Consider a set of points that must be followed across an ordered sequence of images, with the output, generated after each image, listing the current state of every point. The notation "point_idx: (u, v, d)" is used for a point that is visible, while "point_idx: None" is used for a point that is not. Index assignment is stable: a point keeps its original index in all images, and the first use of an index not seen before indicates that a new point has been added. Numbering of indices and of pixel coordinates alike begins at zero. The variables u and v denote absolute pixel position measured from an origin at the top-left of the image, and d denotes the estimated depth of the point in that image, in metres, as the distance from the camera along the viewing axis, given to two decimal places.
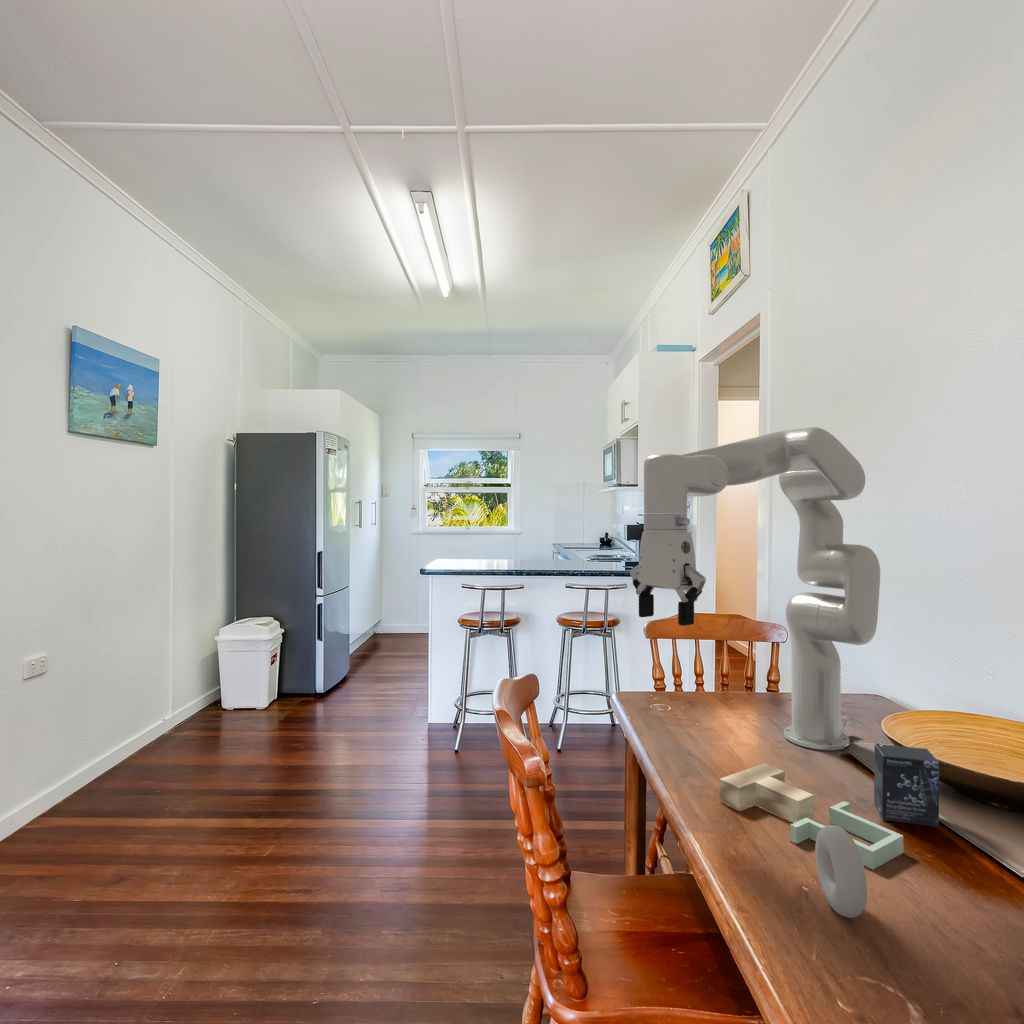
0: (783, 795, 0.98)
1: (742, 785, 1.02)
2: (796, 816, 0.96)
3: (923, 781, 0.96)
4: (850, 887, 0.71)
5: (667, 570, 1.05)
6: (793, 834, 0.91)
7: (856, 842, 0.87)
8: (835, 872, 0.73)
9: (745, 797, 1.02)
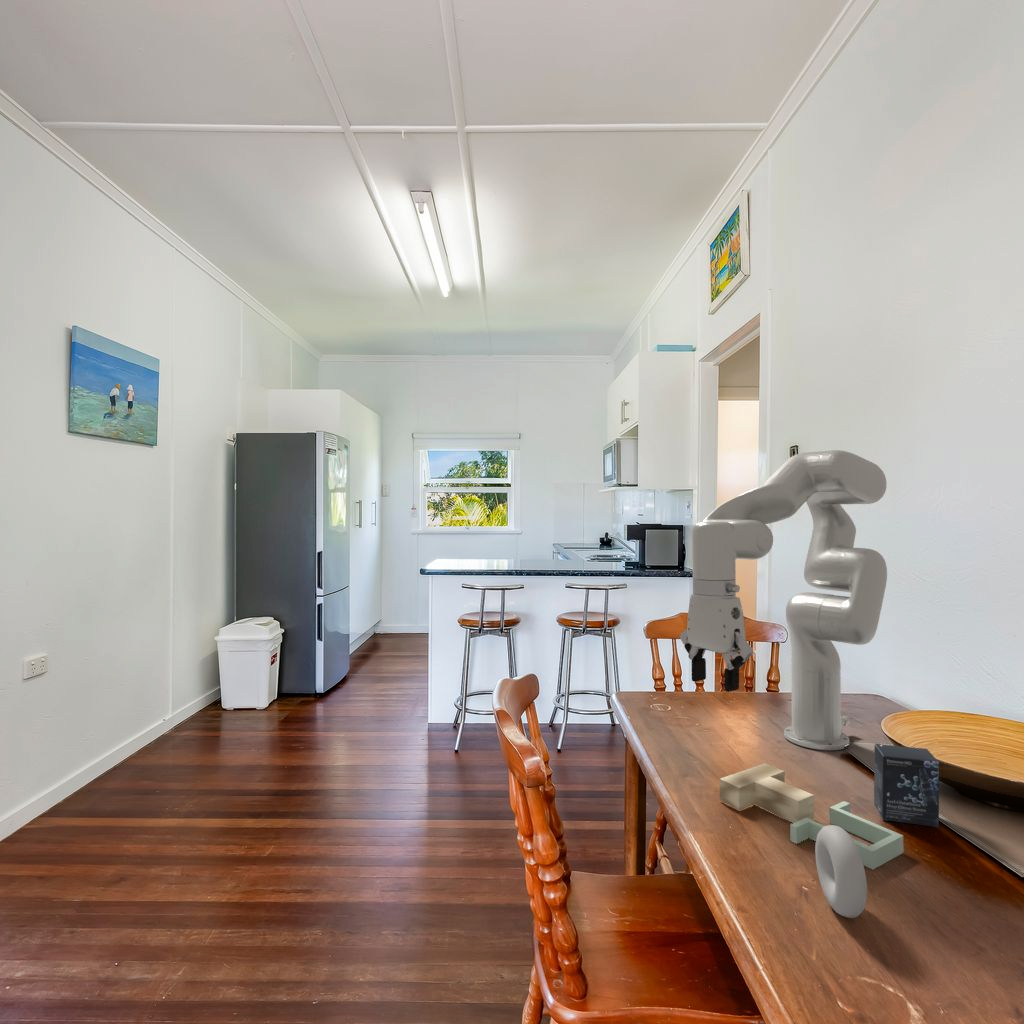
0: (783, 795, 0.98)
1: (742, 785, 1.02)
2: (796, 816, 0.96)
3: (923, 781, 0.96)
4: (850, 887, 0.71)
5: (717, 635, 1.09)
6: (793, 834, 0.91)
7: (856, 842, 0.87)
8: (835, 872, 0.73)
9: (745, 797, 1.02)
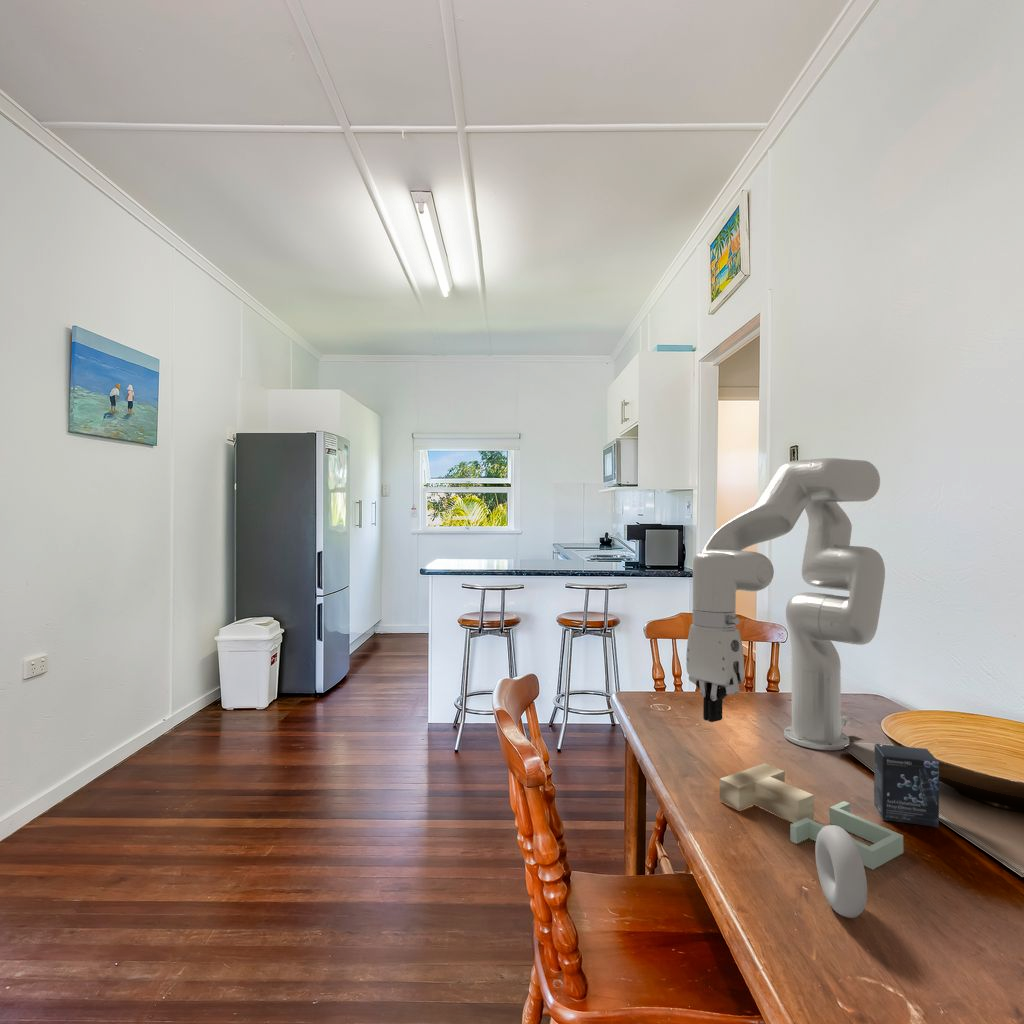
0: (783, 795, 0.98)
1: (742, 785, 1.02)
2: (796, 816, 0.96)
3: (923, 781, 0.96)
4: (850, 887, 0.71)
5: (716, 667, 1.09)
6: (793, 834, 0.91)
7: (856, 842, 0.87)
8: (835, 872, 0.73)
9: (745, 797, 1.02)
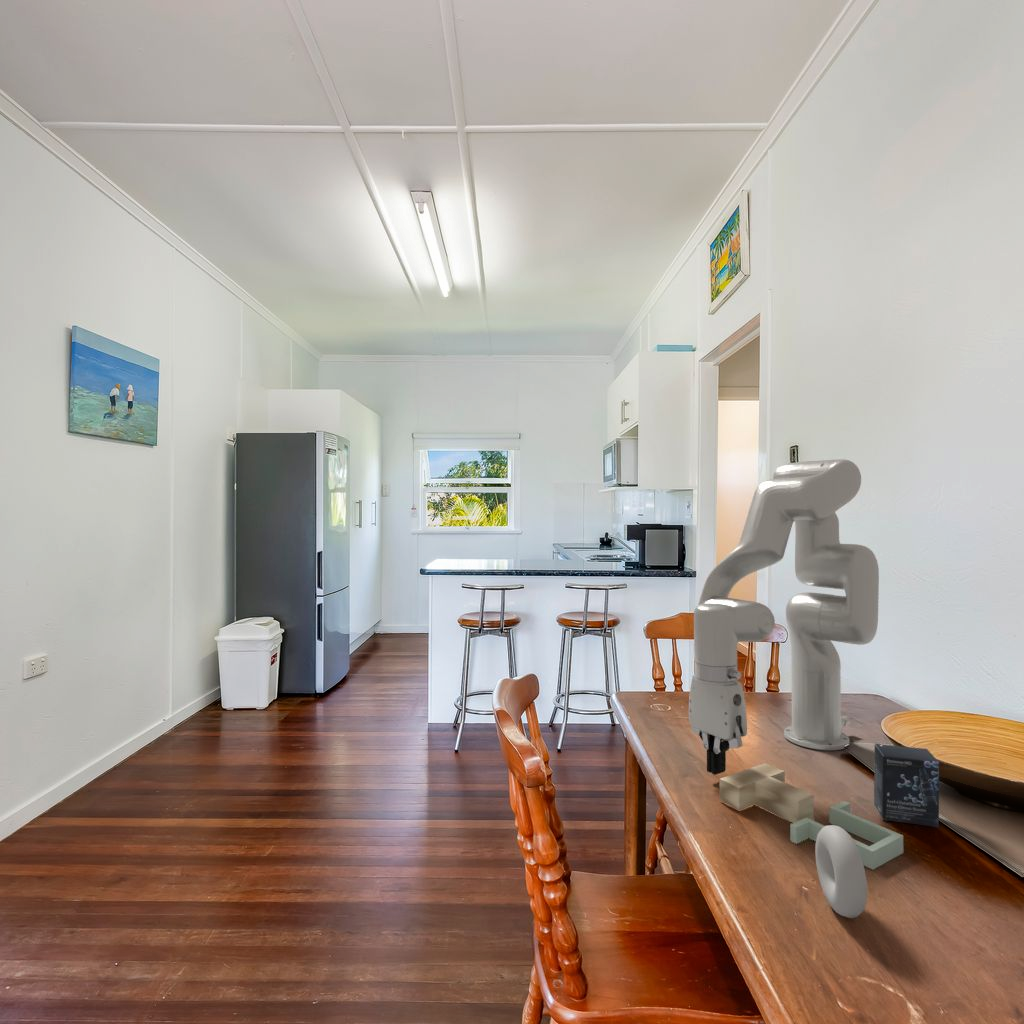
0: (783, 795, 0.98)
1: (742, 785, 1.02)
2: (796, 816, 0.96)
3: (923, 781, 0.96)
4: (850, 887, 0.71)
5: (719, 721, 1.09)
6: (793, 834, 0.91)
7: (856, 842, 0.87)
8: (835, 872, 0.73)
9: (745, 797, 1.02)
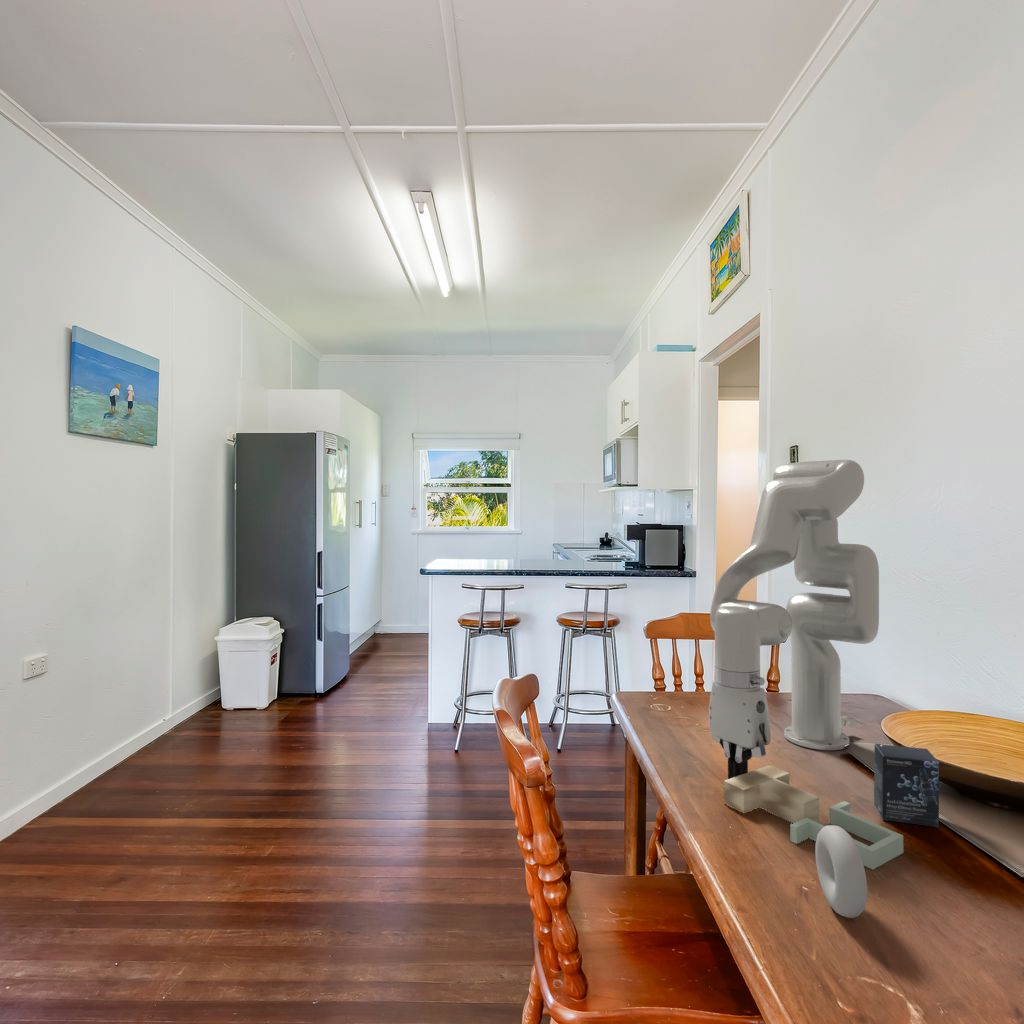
0: (788, 797, 0.97)
1: (747, 787, 1.01)
2: (802, 818, 0.95)
3: (923, 781, 0.96)
4: (850, 887, 0.71)
5: (741, 729, 1.05)
6: (793, 834, 0.91)
7: (856, 842, 0.87)
8: (835, 872, 0.73)
9: (750, 799, 1.01)
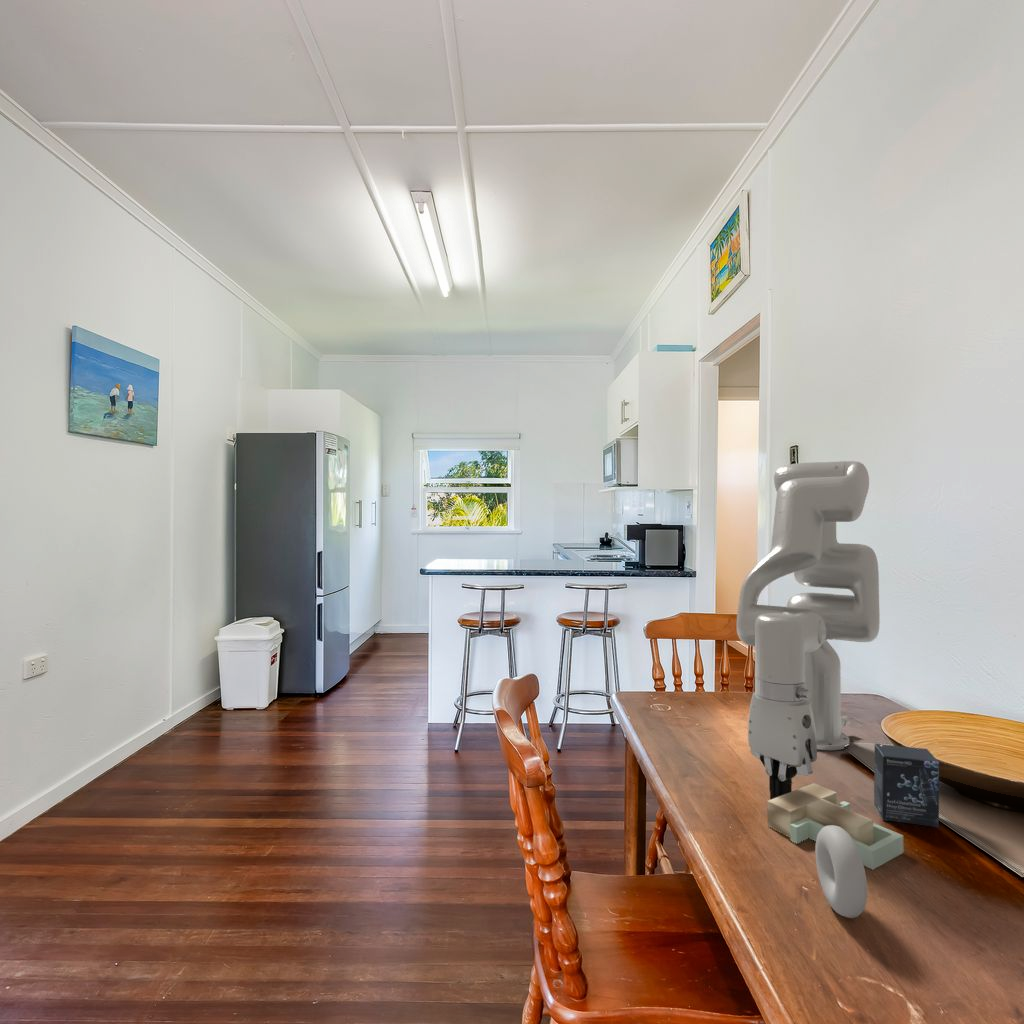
0: (839, 820, 0.90)
1: (793, 808, 0.94)
2: None
3: (923, 781, 0.96)
4: (850, 887, 0.71)
5: (786, 745, 0.97)
6: (793, 834, 0.91)
7: (856, 842, 0.87)
8: (835, 872, 0.73)
9: None
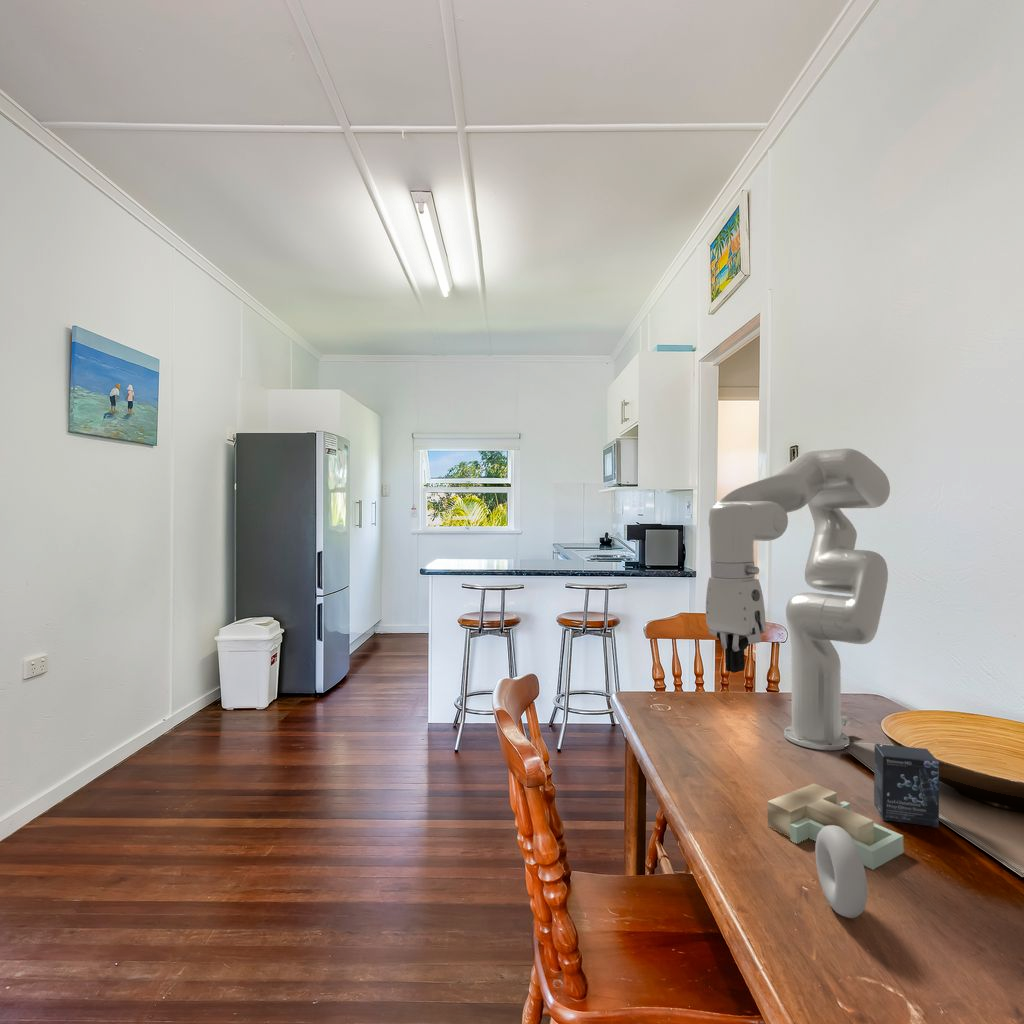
0: (839, 821, 0.90)
1: (793, 809, 0.93)
2: None
3: (923, 781, 0.96)
4: (850, 887, 0.71)
5: (738, 617, 1.08)
6: (793, 834, 0.91)
7: (856, 842, 0.87)
8: (835, 872, 0.73)
9: None
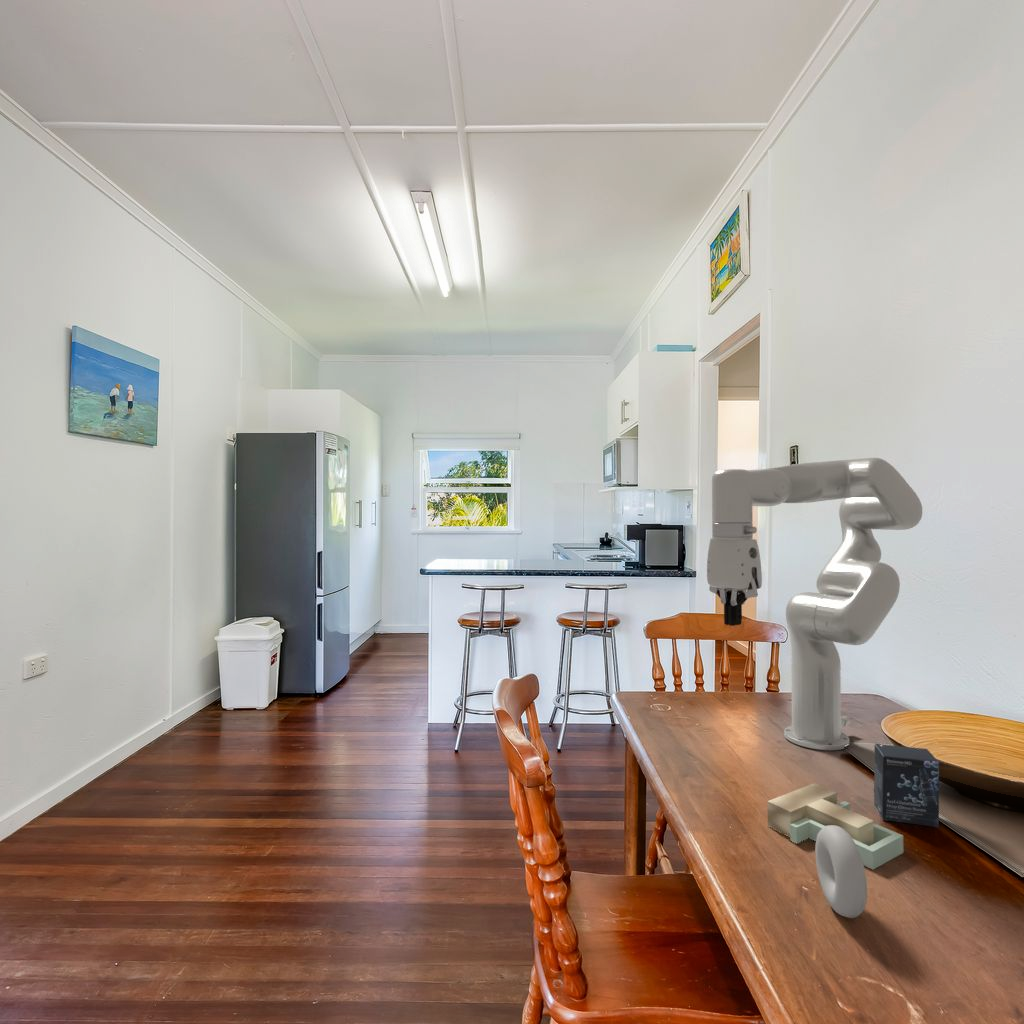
0: (839, 821, 0.90)
1: (793, 809, 0.93)
2: None
3: (923, 781, 0.96)
4: (850, 887, 0.71)
5: (736, 573, 1.17)
6: (793, 834, 0.91)
7: (856, 842, 0.87)
8: (835, 872, 0.73)
9: None
